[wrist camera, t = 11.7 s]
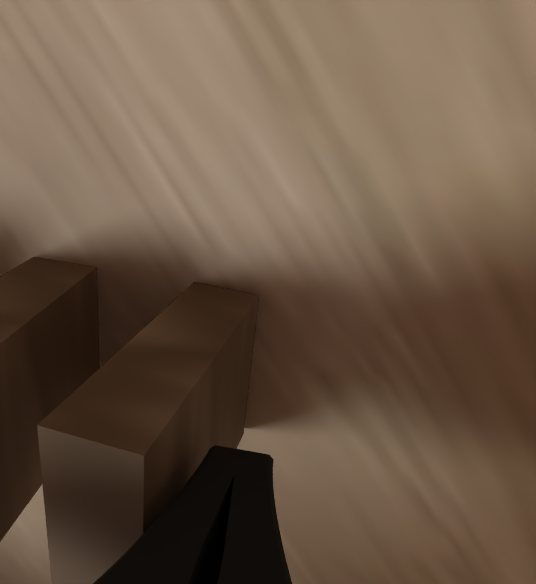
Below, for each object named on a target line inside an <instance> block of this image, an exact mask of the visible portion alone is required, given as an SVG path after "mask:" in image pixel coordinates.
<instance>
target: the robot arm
mask: <svg viewBox="0 0 536 584" xmlns="http://www.w3.org/2000/svg"><path fill="white" fill-rule="evenodd" d="M93 584H292V582H291V578H290V574H289V570H288V566H287V563H286V559H285V554H284V550H283V546H282V541H281V536H280V531H279V525H278V520H277V514H276V508H275V500H274V491H273V459H272V458H271V456H270V455H268V454H262V453H256V452H251V451H245V450H240V449H234V448H228V447H223V446H217V445H215V446H213V447H211V448H210V449H209V451H208V452H207V454H206V456H205V457H204V459H203V461H202V462H201V464H200V465H199V466H198V468H197V469H196V471H195V472H194V474H193V475H192V476H191V478H190V479H189V480H188V482H187V483H186V484H185V486H184V487H183V488H182V490H181V491H180V492H179V493H178V494H177V496H176V497H175V498H174V499H173V500H172V502H171V503H170V504H169V505H168V507H167V508H166V509H165V510H164V511H163V513H162V514H161V515H160V516H159V517H158V518H157V520H156V521H155V522H154V523H153V524H152V525H151V526H150V527H149V528H148V529H147V530H146V531H145V533H144V534H143V535H142V536H141V537H140V538H139V539H138V540H137V541H136V542H135V543H134V544H133V545H132V547H131V548H130V549H129V550H128V551H127V552H126V553H125V554H124V555H123V556H122V557H121V558H120V559H119V560H118V561H117V562H115V563H114V564H113V565H112V566H111V567H110V568H109V569H108V570H107V571H106V572H105V573H104V574H103V575H102V576H101V577H100V578H98V579H97V580H96V581H95V582H94V583H93Z"/></svg>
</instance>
